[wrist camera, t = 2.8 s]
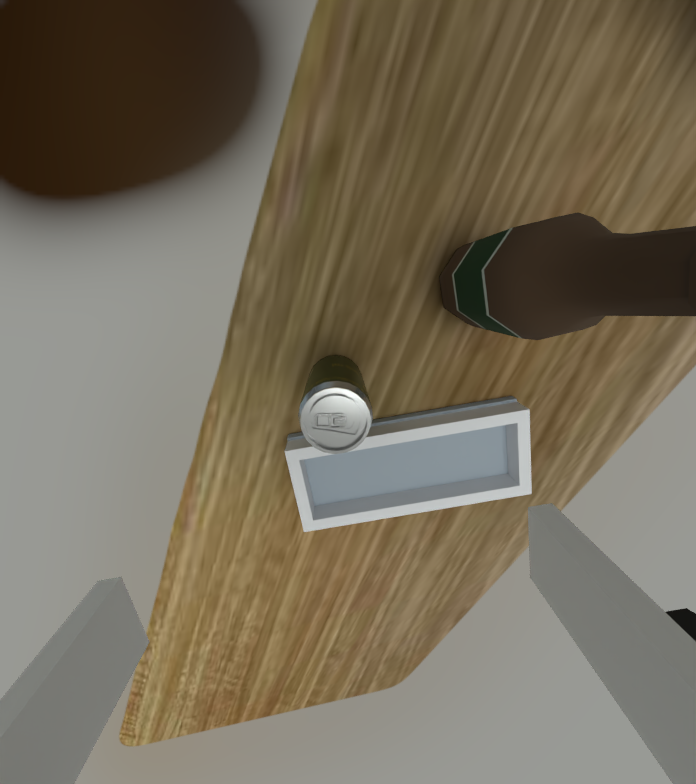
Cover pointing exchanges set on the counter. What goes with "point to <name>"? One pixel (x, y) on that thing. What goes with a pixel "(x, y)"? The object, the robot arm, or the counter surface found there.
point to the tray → (415, 465)
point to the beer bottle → (569, 277)
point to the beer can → (335, 406)
